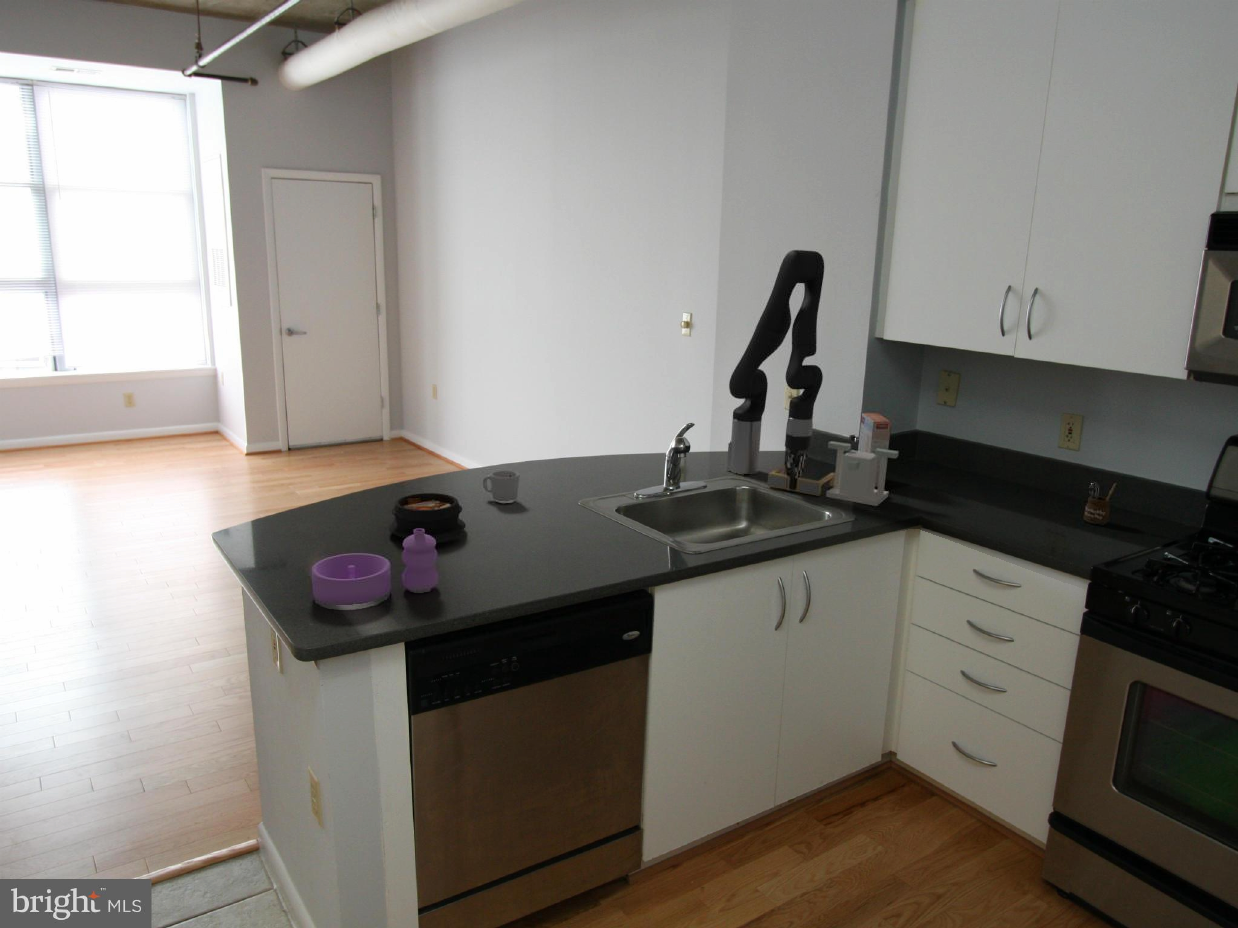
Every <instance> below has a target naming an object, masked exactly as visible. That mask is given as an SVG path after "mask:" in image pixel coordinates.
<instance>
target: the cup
mask: <svg viewBox="0 0 1238 928" xmlns="http://www.w3.org/2000/svg"><path fill="white" fill-rule="evenodd" d="M520 476H521V475H520V473H519V472H517V471H514V470H496V471H493V472H491V473H490V475H485V476H484V477H483V480H482V486H483V488H484V490H485V491H486V492H488V493H491V494H492V499H495V500H498V501H509V500H515V499H516V500H517V499H518V493H519V486H520V485H519V484H520ZM489 480H490V483H491V488H489V487H488V483H487V482H488V481H489Z"/></svg>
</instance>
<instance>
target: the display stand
mask: <svg viewBox="0 0 1238 928" xmlns="http://www.w3.org/2000/svg"><path fill="white" fill-rule="evenodd" d="M851 448H852V444H851V443H845V442H839V441H828V443H827V449H832V450H837V451H836V460H835V461H836V462H835V471H834V473H835V478H834V486H832V487H831V488H830V489H829V490H827V491H826V495H825V497H827V498H831V499H838V500H840V501H841V500H843V501H847V502H852V503H858V504H865V505H869V506H875V507H877V506H879V505H880V504H881V503H882V502H883V501H884V500H886V499H887V498H888V497H889V491H886V490H885V483H886V473H887V466H888V458H891V459H897V458H898V457H899V454H900V453H899V450H893V449H892V450H890V449H888V450H886V449H879V448H878V449H876V450H875V454H873V453H867V452H860V451H858V450H853V449H851ZM844 452H846V453H845V454H844ZM878 456H881V462H880V471H879V480H878V487H877V489H876V487H875V479H876V470H877V461H878Z"/></svg>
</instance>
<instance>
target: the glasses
mask: <svg viewBox="0 0 1238 928" xmlns="http://www.w3.org/2000/svg"><path fill="white" fill-rule="evenodd" d="M782 472H783V473H782ZM834 480H835V472H830V473H829V474H827V475H826V476H824V477H822V478H821V479H819V480H816V479H815V480H814V479H810V478H803V477H801V476H800V477H798V479H797V489H796V490H791V489H789V481H790V477H788V476H787V474H786V469H785V464H783V465H782V466H780V467H778V468H776V469H774V470H772V471H770V472H769V473H768V475H767V483H766V484H767V486H768V487H772V488H777V489H782V490H786V491H792V492H797V493H801V494H808V495H812V496H816V497H817V496H820V495H821V490H822V485H823V484H825V483H827V482H828V481H829V486H830V487H834Z"/></svg>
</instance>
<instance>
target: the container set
mask: <svg viewBox="0 0 1238 928" xmlns="http://www.w3.org/2000/svg"><path fill="white" fill-rule="evenodd" d="M424 533H425V530H424V529H421V528H418V529H414V535H411V536H409V537H407V538H404V540H403V542H402V547H403V548H404V550H402V553H401V560H402V562H403V564H404V565H405V566H406V567H405V569H404V570H403V572H402V575H401V583H402V585H403V586H405V587H406V588H408V589H412V590H423V589H429V588H431V587H433V586H435V585H436V584H438V582H439V574H438V571H437V568H436V567H435V566H434V564H435V563H436V561H437V560H438V551H437V549H436V548H435V547H436V544H437V543H436V541H435V539H434V538H433V537H431V536H429V535H427V534H424ZM391 574H392V573H391V562H390V560H389V559H387V558H385V557H383V556H381V555H376V554H373V553H364V552H363V553H361V552H360V553H359V552H358V553H355V552H354V553H343V554H338V555H332V556H329V557H326V558H323V559H321V560H319V561H318V562H317V561H316V562H315V563H314V564H313V565H312V567H311V581H312V582H311V583H312V596H313V595H314V597H315V598H316V599H317V600H319V601H321V602H323V603H327V604H334V605H353V604H363V603H368V602H370V601H374V600H377V599H379V598H381V597H383V596H384V595H386V594H388V592H389V591H390V589H391V590H392V580H391V577H392V575H391ZM355 578H356V579H355ZM436 586H437V585H436ZM436 586H435V587H436ZM405 587H404V588H405ZM406 588H405V589H406Z"/></svg>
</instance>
